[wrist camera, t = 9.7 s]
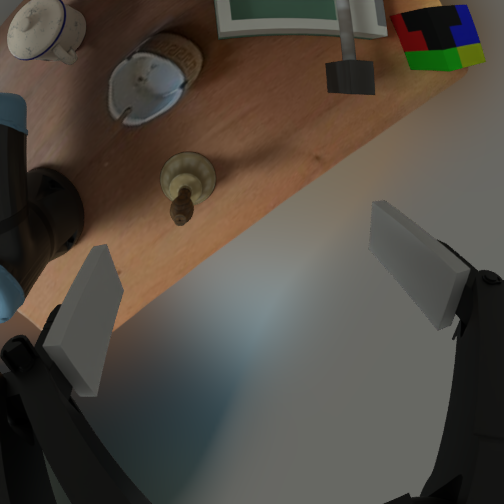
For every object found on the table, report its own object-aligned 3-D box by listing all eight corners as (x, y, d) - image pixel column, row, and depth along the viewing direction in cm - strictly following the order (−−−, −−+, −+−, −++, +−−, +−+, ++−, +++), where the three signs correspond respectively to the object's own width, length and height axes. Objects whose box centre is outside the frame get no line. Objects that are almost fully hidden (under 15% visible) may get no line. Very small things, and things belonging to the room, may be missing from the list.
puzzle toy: (429, 10, 33) (466, 4, 24) (447, 59, 38) (485, 61, 29) (389, 16, 34) (426, 7, 25) (410, 69, 39) (449, 71, 30)
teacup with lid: (28, 40, 27) (-14, 34, 17) (70, -3, 26) (36, -22, 16) (64, 86, 33) (25, 89, 23) (109, 43, 32) (80, 30, 22)
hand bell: (148, 177, 43) (124, 220, 29) (191, 140, 41) (184, 165, 27) (185, 215, 47) (179, 272, 33) (227, 181, 45) (238, 226, 31)
